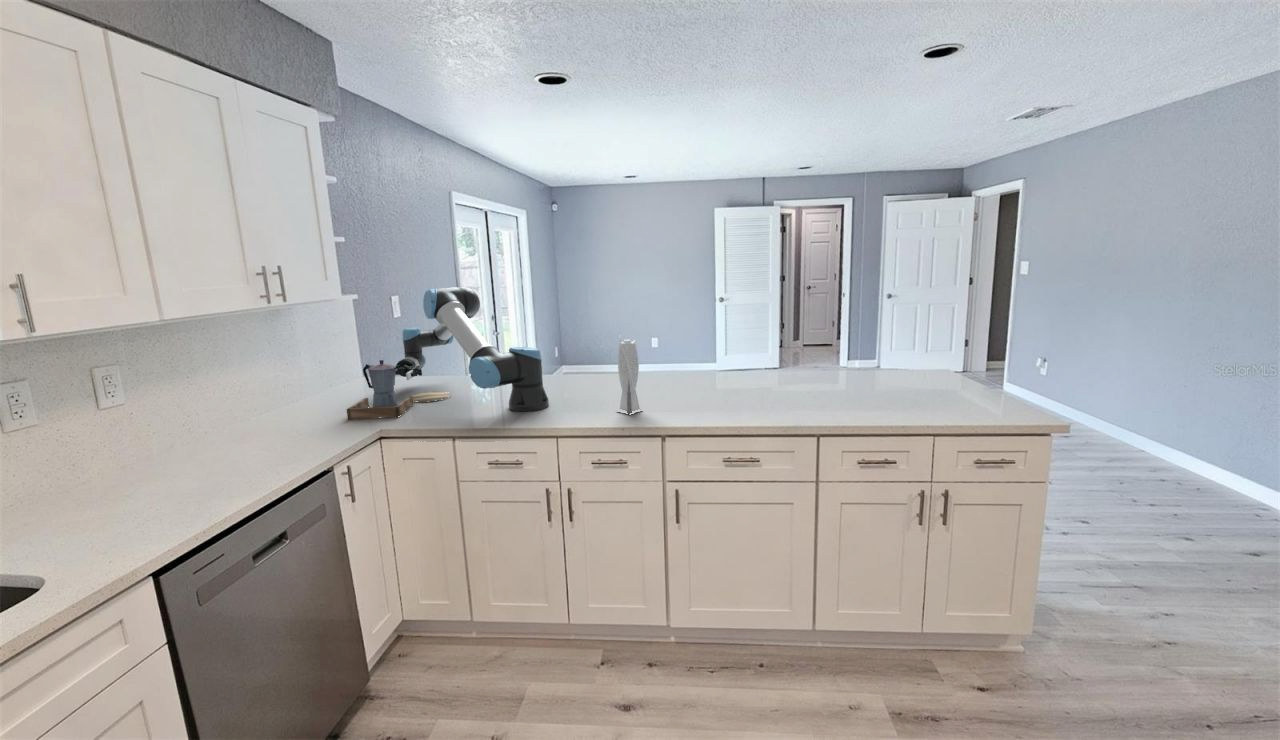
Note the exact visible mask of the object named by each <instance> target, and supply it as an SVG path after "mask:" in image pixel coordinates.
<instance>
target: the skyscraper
mask: <svg viewBox="0 0 1280 740" xmlns="http://www.w3.org/2000/svg"><path fill="white" fill-rule="evenodd" d="M618 346H619V347H618V355H617V357H618V358H617V371H618V378H619V382H620V388H621V395H620V396H621V397H620V405H619V406H620V407H619V410H620V409H622V410H625V411H627V413H628V414H630V413H632V411H635V410H638V409H640V410H641V407H640V404H639V399H638V394H637V390H636V388H637V383H638V378H639V369H640V368H639V367H640V365H639V356H638V354H639V353H638V350H637V343H636V339H633V341H632V340H631V339H623V341H622V336H621V334H620V335H619V345H618Z"/></svg>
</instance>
